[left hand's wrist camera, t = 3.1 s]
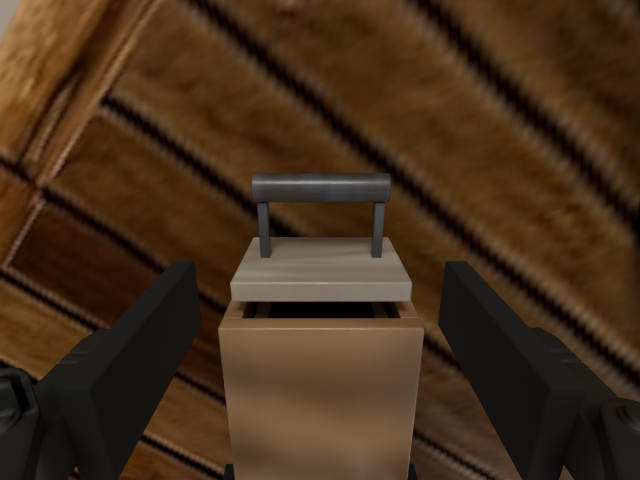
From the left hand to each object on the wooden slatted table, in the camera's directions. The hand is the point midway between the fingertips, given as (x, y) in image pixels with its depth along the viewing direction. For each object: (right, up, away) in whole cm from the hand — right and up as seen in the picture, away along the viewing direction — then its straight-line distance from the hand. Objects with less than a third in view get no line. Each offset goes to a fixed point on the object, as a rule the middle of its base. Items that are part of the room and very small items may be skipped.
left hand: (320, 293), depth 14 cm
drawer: (0, -4, +15) cm, 15 cm away
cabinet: (0, -9, +18) cm, 20 cm away
